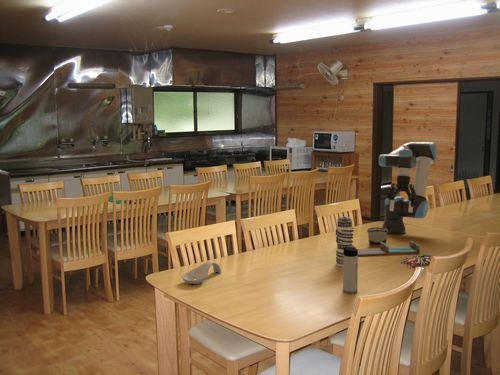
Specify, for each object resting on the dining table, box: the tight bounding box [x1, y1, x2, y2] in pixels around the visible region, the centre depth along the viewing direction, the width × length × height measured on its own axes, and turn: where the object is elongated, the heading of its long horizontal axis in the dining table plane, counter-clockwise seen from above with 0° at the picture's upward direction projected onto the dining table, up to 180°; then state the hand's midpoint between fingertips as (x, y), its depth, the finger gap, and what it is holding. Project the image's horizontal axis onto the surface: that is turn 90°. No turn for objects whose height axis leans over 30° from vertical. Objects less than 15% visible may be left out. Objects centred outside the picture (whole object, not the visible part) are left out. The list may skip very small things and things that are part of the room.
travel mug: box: [342, 247, 359, 295], centre depth 221 cm, size 6×7×20 cm
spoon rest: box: [181, 261, 222, 285], centre depth 242 cm, size 24×12×7 cm, turn 147°
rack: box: [352, 240, 421, 257], centre depth 283 cm, size 12×36×5 cm, turn 95°
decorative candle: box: [335, 215, 355, 268], centre depth 260 cm, size 9×9×25 cm
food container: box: [366, 226, 388, 247], centre depth 300 cm, size 12×6×10 cm, turn 84°
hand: (400, 211), depth 295 cm, fingers open, 13 cm apart
